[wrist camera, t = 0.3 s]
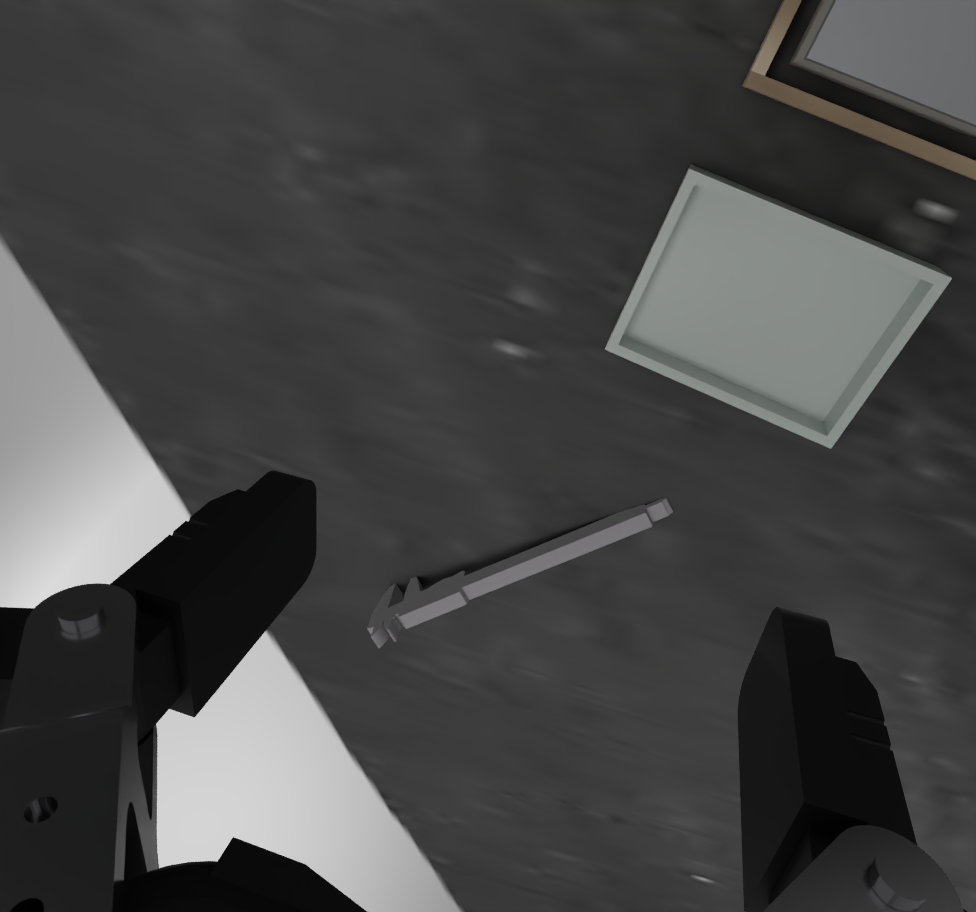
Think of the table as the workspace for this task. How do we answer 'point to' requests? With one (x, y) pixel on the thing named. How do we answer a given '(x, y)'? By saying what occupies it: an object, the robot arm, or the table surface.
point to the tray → (771, 306)
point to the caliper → (503, 571)
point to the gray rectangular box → (899, 54)
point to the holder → (839, 114)
